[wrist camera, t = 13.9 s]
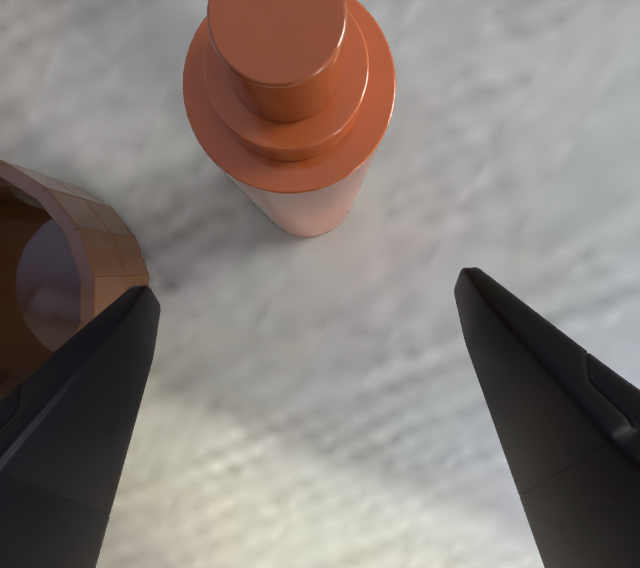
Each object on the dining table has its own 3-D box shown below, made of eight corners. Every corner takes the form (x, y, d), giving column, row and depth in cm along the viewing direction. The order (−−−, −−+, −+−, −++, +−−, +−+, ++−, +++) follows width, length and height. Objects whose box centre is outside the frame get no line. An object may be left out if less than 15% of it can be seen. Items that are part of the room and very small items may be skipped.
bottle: (316, 256, 17) (306, 222, 6) (240, 198, 17) (69, 44, 5) (374, 179, 17) (485, -19, 5) (297, 121, 17) (245, -206, 5)
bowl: (133, 413, 18) (68, 462, 13) (-74, 369, 17) (-211, 403, 13) (173, 208, 17) (121, 185, 13) (-39, 162, 17) (-167, 124, 13)
